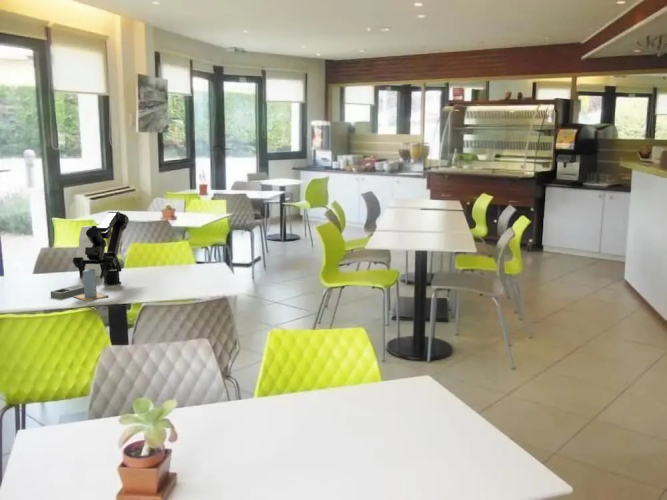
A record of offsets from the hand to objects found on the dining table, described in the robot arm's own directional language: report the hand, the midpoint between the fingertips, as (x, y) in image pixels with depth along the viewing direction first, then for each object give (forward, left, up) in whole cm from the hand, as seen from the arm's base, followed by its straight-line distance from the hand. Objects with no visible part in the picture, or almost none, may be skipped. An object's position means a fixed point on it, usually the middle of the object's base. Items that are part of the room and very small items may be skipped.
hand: (90, 277), depth 292 cm
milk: (-24, -44, -9) cm, 51 cm away
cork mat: (+1, +1, -9) cm, 9 cm away
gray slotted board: (+3, -12, -9) cm, 15 cm away
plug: (+1, +1, -8) cm, 8 cm away
